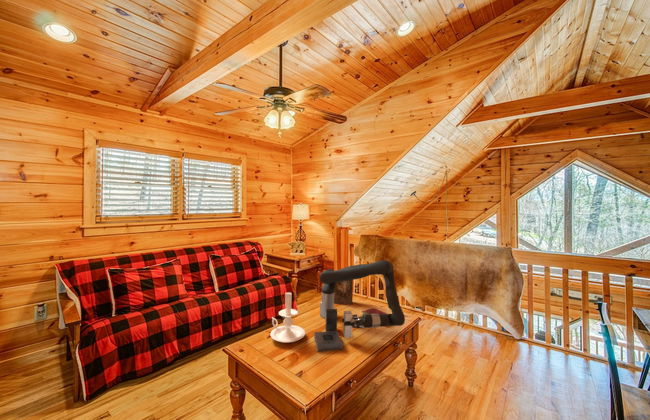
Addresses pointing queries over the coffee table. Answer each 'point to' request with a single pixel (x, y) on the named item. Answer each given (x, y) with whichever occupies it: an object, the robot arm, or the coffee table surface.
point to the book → (343, 292)
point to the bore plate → (328, 341)
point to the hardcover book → (372, 311)
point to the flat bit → (331, 320)
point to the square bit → (347, 329)
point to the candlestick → (287, 324)
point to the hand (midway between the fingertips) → (343, 321)
